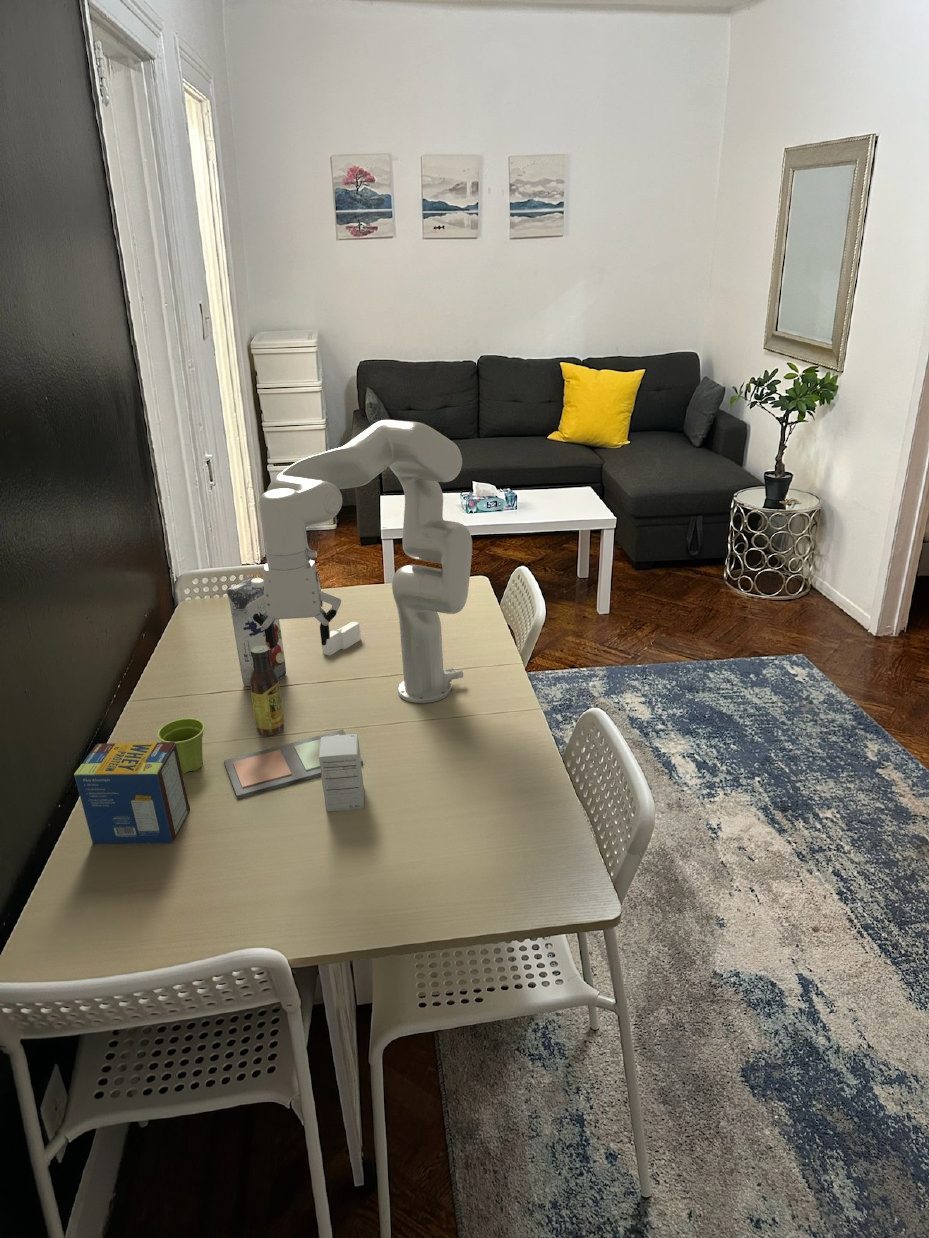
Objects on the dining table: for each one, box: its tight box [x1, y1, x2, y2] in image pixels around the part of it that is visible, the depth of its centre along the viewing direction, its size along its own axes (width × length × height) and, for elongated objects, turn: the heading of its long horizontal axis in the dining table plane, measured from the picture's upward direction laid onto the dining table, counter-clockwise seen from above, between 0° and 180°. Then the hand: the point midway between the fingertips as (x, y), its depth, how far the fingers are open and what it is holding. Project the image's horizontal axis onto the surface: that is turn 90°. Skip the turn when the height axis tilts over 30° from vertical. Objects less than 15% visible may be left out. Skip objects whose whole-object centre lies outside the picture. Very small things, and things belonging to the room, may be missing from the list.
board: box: [223, 729, 364, 800], centre depth 184 cm, size 26×14×1 cm, turn 114°
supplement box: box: [319, 733, 365, 812], centre depth 170 cm, size 7×7×13 cm
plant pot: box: [157, 717, 206, 774], centre depth 184 cm, size 9×9×9 cm
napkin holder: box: [321, 621, 362, 656], centre depth 234 cm, size 15×11×6 cm
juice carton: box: [226, 576, 287, 688], centre depth 214 cm, size 9×10×27 cm
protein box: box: [73, 741, 191, 845], centre depth 164 cm, size 10×15×16 cm
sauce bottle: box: [250, 645, 285, 736], centre depth 194 cm, size 7×6×20 cm
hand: (298, 643), depth 166 cm, fingers open, 9 cm apart
